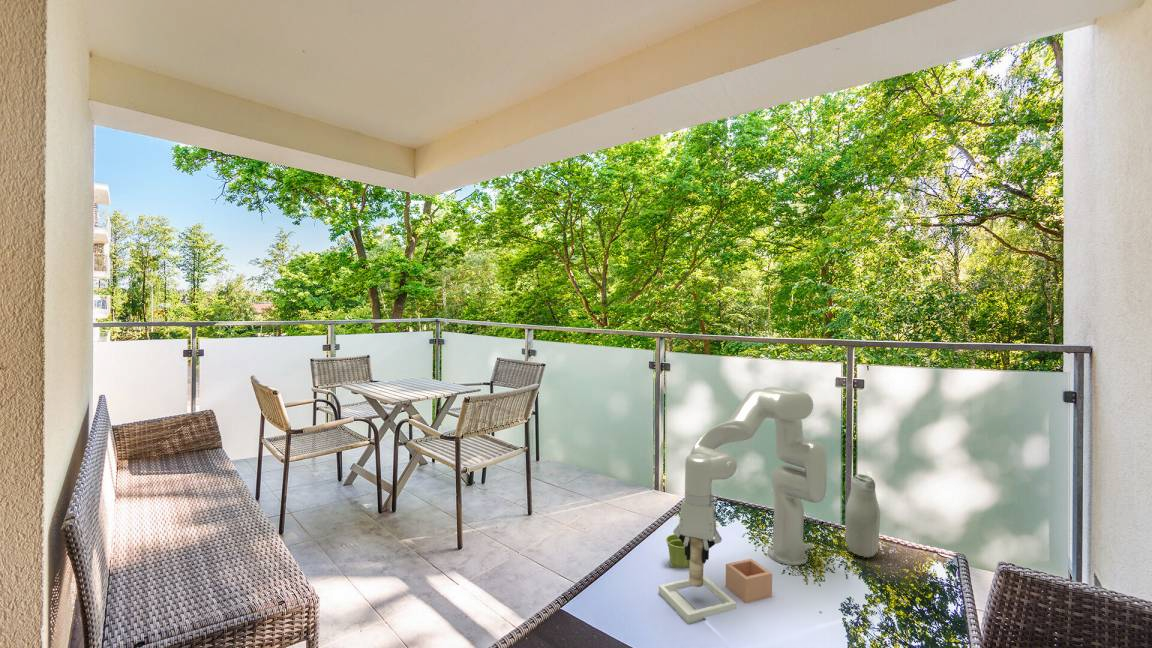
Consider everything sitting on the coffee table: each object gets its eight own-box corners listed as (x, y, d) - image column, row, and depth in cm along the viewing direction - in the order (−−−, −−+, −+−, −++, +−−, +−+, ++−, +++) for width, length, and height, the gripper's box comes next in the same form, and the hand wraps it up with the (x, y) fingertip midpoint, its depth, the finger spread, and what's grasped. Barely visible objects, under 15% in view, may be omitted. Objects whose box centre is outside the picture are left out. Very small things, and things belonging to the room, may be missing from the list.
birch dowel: (698, 578, 158) (699, 532, 157) (705, 585, 154) (706, 538, 154) (686, 581, 157) (687, 534, 156) (694, 588, 153) (695, 540, 152)
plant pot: (694, 574, 172) (695, 548, 171) (665, 571, 173) (665, 545, 173) (694, 560, 181) (694, 535, 180) (666, 557, 183) (666, 532, 182)
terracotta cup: (750, 583, 166) (751, 558, 166) (771, 599, 157) (772, 573, 157) (725, 589, 163) (725, 563, 162) (745, 606, 154) (746, 579, 154)
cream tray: (703, 583, 166) (703, 575, 166) (736, 611, 151) (736, 603, 151) (658, 593, 160) (658, 585, 160) (688, 624, 146) (688, 615, 145)
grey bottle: (883, 556, 184) (886, 476, 182) (867, 564, 178) (870, 482, 176) (854, 545, 192) (857, 469, 190) (839, 553, 186) (841, 474, 184)
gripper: (729, 498, 154) (727, 559, 155) (672, 489, 161) (671, 548, 162) (725, 507, 147) (724, 572, 148) (666, 497, 154) (665, 559, 155)
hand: (696, 559), depth 155 cm, fingers closed on birch dowel, 4 cm apart
